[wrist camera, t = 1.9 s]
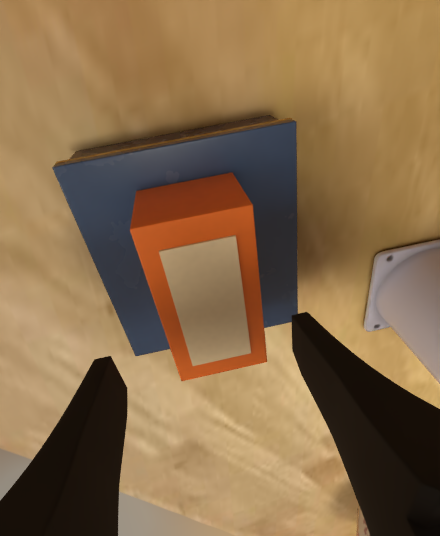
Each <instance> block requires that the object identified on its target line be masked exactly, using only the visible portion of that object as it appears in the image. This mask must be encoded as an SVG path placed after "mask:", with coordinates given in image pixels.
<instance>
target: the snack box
mask: <svg viewBox="0 0 440 536" xmlns="http://www.w3.org/2000/svg"><path fill="white" fill-rule="evenodd" d="M130 232H131V235H132V238H133V241H134V244H135V247H136V250H137V252H138V255H139V258H140V261H141V264H142V267H143V270H144V273H145V276H146V279H147V282H148V285H149V287H150V290H151V293H152V296H153V299H154V302H155V305H156V308H157V311H158V314H159V317H160V320H161V323H162V325H163V328H164V331H165V334H166V337H167V340H168V343H169V346H170V349H171V352H172V355H173V358H174V360H175V363H176V366H177V369H178V372H179V375H180V378H181V381H185V380H189V379H194V378H198V377H202V376H207V375H211V374H216V373H220V372H224V371H229V370H233V369H238V368H242V367H246V366H251V365H255V364H260V363H264V362H267V355H266V344H265V333H264V322H263V311H262V300H261V289H260V278H259V267H258V256H257V245H256V234H255V223H254V212H253V204H252V203H251V201H250V200H249V198H248V197H247V195H246V193H245V192H244V190H243V189H242V187H241V185H240V184H239V182H238V181H237V179H236V177H235V176H234V174H233V173H232V172H231V173H226V174H221V175H216V176H211V177H206V178H201V179H196V180H190V181H185V182H180V183H175V184H170V185H165V186H160V187H155V188H150V189H144V190H139V191H136V195H135V201H134V207H133V213H132V219H131V225H130Z"/></svg>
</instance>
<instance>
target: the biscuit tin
mask: <svg viewBox="0 0 440 536" xmlns="http://www.w3.org/2000/svg"><path fill="white" fill-rule="evenodd" d="M53 170H54V173H55V175H56V177H57V180H58V182H59V184H60V186H61V189H62V191H63V193H64V195H65V198H66V200H67V202H68V204H69V207H70V209H71V211H72V213H73V216H74V218H75V220H76V222H77V225H78V227H79V229H80V231H81V234H82V236H83V238H84V240H85V243H86V245H87V247H88V250H89V252H90V254H91V256H92V259H93V261H94V263H95V265H96V268H97V270H98V272H99V274H100V277H101V279H102V281H103V283H104V286H105V288H106V290H107V292H108V295H109V297H110V299H111V301H112V304H113V306H114V308H115V310H116V313H117V315H118V317H119V320H120V322H121V324H122V326H123V329H124V331H125V333H126V335H127V338H128V340H129V342H130V344H131V347H132V349H133V351H134V353H135V356H140V355H144V354H149V353H153V352H158V351H162V350H167V349H170V346H169V343H168V340H167V337H166V334H165V331H164V328H163V325H162V323H161V320H160V317H159V314H158V311H157V308H156V305H155V302H154V299H153V296H152V293H151V290H150V287H149V285H148V282H147V279H146V276H145V273H144V270H143V267H142V264H141V261H140V258H139V255H138V252H137V250H136V247H135V244H134V241H133V238H132V235H131V232H130V225H131V219H132V213H133V207H134V201H135V195H136V191H139V190H144V189H150V188H155V187H160V186H165V185H170V184H175V183H180V182H185V181H190V180H196V179H201V178H206V177H211V176H216V175H221V174H226V173H231V172H232V173H233V174H234V176H235V177H236V179H237V181H238V182H239V184H240V185H241V187H242V189H243V190H244V192H245V193H246V195H247V197H248V198H249V200H250V201H251V203H252V204H253V212H254V223H255V234H256V245H257V256H258V267H259V278H260V289H261V300H262V311H263V322H264V328H266V327H271V326H275V325H280V324H284V323H289V322H292V315H296V314H298V299H297V143H296V121H294V120H292V118H286V119H281V120H278V119H276V118H274V117H273V116H271V115H267V116H262V117H257V118H251V119H246V120H241V121H235V122H230V123H225V124H219V125H214V126H209V127H203V128H198V129H193V130H187V131H182V132H176V133H171V134H166V135H160V136H155V137H150V138H144V139H139V140H134V141H128V142H123V143H118V144H112V145H107V146H102V147H96V148H91V149H86V150H80V151H76V152H75V153H74V154H73V155H72V157H71V158H70V159H69V160H63V161H58V162H56V164H55V165H54V166H53Z"/></svg>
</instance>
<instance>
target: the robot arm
mask: <svg viewBox="0 0 440 536" xmlns="http://www.w3.org/2000/svg"><path fill="white" fill-rule="evenodd" d="M388 256H390V257H389V258H387V257H388ZM388 327H392V329H393V330H394V331H395V332H396V333H397V334H398V336H399V337H400V338H401V339H402V340H403V341H404V343H405V344H406V345H407V346H408V347H409V348H410V350H411V351H412V352H413V353H414V354H415V355H416V357H417V358H418V359H419V360H420V361H421V362H422V364H423V365H424V366H425V367H426V368H427V369H428V371H429V372H430V373H431V374H432V375H433V376H434V378H435V379H436V380H437V381H438V382H439V384H440V239H439V240H434V241H430V242H425V243H420V244H415V245H411V246H406V247H401V248H397V249H392V250H387V251H383V252H380V253H378V254H377V255H376V256H375V258H374V264H373V271H372V277H371V283H370V290H369V296H368V302H367V308H366V315H365V321H364V328H365V330H366V331H374V330H379V329H383V328H388ZM292 349H293V353H294V356H295V358H296V361H297V364H298V366H299V369H300V372H301V374H302V376H303V378H304V380H305V382H306V384H307V386H308V388H309V390H310V392H311V394H312V396H313V398H314V400H315V402H316V404H317V406H318V408H319V410H320V412H321V414H322V416H323V418H324V419H325V421H326V423H327V425H328V428H329V430H330V432H331V434H332V436H333V439H334V441H335V444H336V446H337V449H338V451H339V454H340V456H341V459H342V461H343V464H344V466H345V469H346V471H347V474H348V477H349V479H350V482H351V484H352V487H353V490H354V492H355V495H356V498H357V500H358V503H359V506H360V509H361V511H362V514H363V517H364V519H365V522H366V525H367V528H368V531H369V534H370V536H440V409H438V408H436V407H435V406H433V405H431V404H429V403H427V402H426V401H424V400H422V399H420V398H418V397H417V396H415V395H413V394H411V393H410V392H408V391H407V390H405V389H403V388H402V387H400V386H399V385H397V384H395V383H394V382H392V381H391V380H389V379H388V378H386V377H385V376H383V375H382V374H380V373H379V372H378V371H376V370H375V369H373V368H372V367H371V366H369V365H368V364H367V363H365V362H364V361H363V360H361V359H360V358H359V357H357V356H356V355H355V354H354V353H352V352H351V351H350V350H349V349H348V348H346V347H345V346H344V345H343V344H342V343H340V342H339V341H338V340H337V339H336V338H335V337H333V336H332V335H331V334H330V333H329V332H328V331H327V330H326V329H325V328H323V327H322V326H321V325H320V324H319V323H318V322H317V321H316V320H315V319H314V318H313V317H312V316H311V315H310V314H309V313H307V312H305V313H300V314H296V315H292ZM126 421H127V387H126V385H125V383H124V381H123V379H122V377H121V375H120V373H119V371H118V369H117V367H116V365H115V364H114V362H113V360H112V358H111V356H108V357H104V358H99V359H95V360H94V361H93V363H92V365H91V367H90V368H89V370H88V372H87V374H86V376H85V378H84V379H83V381H82V383H81V385H80V387H79V388H78V390H77V392H76V394H75V395H74V397H73V399H72V400H71V402H70V404H69V405H68V407H67V409H66V411H65V412H64V414H63V416H62V417H61V419H60V420H59V422H58V423H57V425H56V427H55V428H54V430H53V431H52V433H51V434H50V436H49V437H48V439H47V440H46V442H45V443H44V445H43V446H42V448H41V449H40V451H39V452H38V453H37V455H36V456H35V457H34V459H33V460H32V462H31V463H30V464H29V466H28V467H27V468H26V470H25V471H24V472H23V473H22V475H21V476H20V477H19V479H18V480H17V481H16V482H15V484H14V485H13V486H12V487H11V489H10V490H9V491H8V492H7V493H6V495H5V496H4V497H3V498H2V499H1V501H0V536H118V501H119V482H120V472H121V463H122V455H123V447H124V439H125V430H126Z"/></svg>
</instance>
